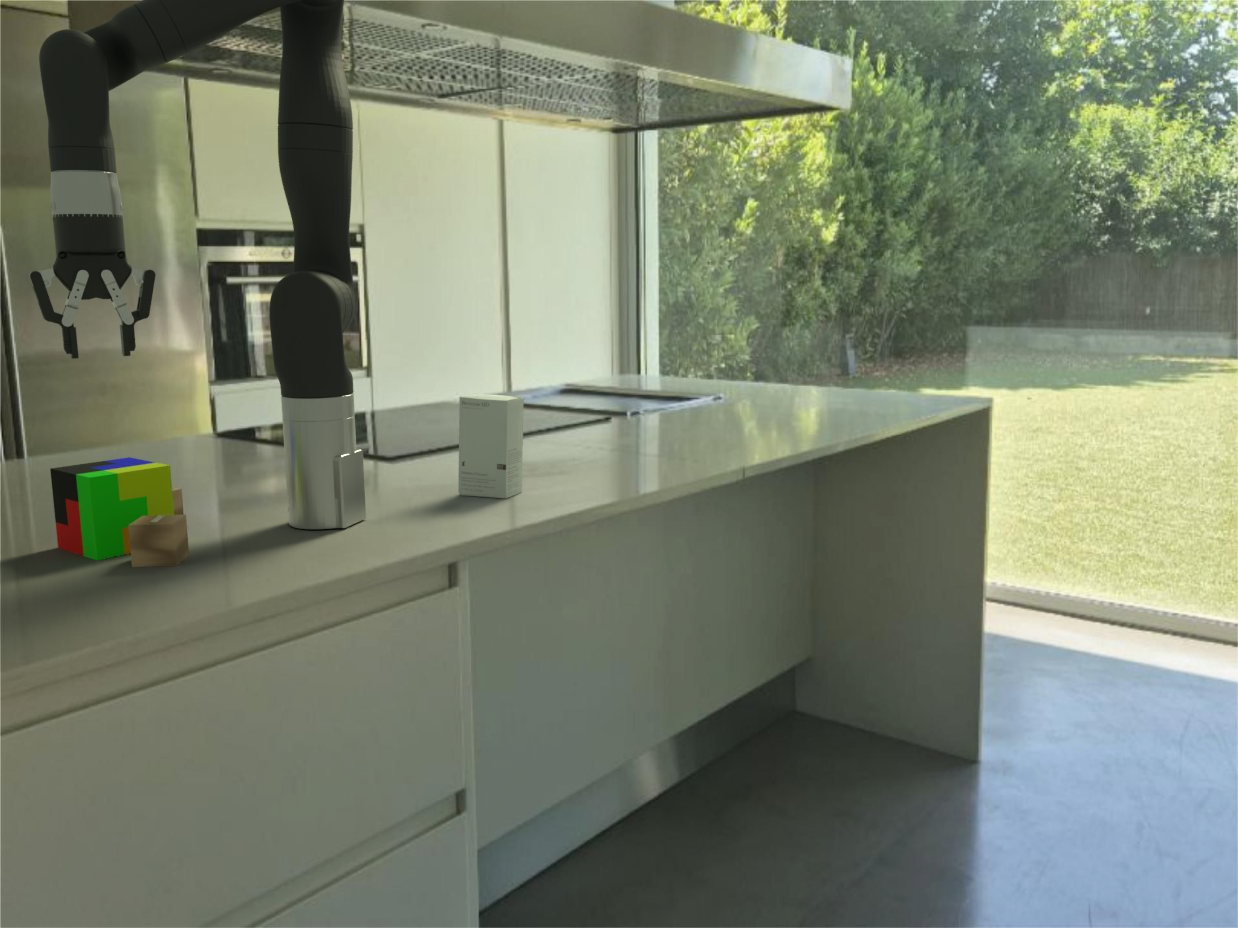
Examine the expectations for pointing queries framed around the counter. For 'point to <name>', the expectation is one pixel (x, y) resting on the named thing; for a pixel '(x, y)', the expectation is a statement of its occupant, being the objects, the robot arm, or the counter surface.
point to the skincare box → (490, 445)
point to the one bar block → (158, 540)
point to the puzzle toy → (107, 503)
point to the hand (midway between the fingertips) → (100, 356)
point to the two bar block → (177, 501)
